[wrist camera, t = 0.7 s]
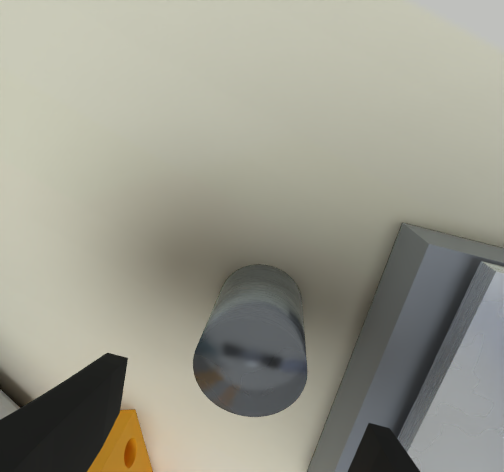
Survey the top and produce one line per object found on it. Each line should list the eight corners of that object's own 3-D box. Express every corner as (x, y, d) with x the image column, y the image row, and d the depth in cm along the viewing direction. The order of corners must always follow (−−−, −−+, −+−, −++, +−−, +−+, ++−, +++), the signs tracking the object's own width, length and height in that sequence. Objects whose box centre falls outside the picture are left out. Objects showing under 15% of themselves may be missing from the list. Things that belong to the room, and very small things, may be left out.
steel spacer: (312, 276, 16) (321, 336, 12) (289, 347, 17) (289, 429, 13) (229, 255, 16) (204, 305, 12) (212, 327, 18) (184, 400, 13)
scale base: (680, 293, 15) (787, 336, 12) (518, 531, 19) (562, 609, 16) (402, 222, 15) (432, 246, 12) (306, 473, 20) (309, 538, 16)
